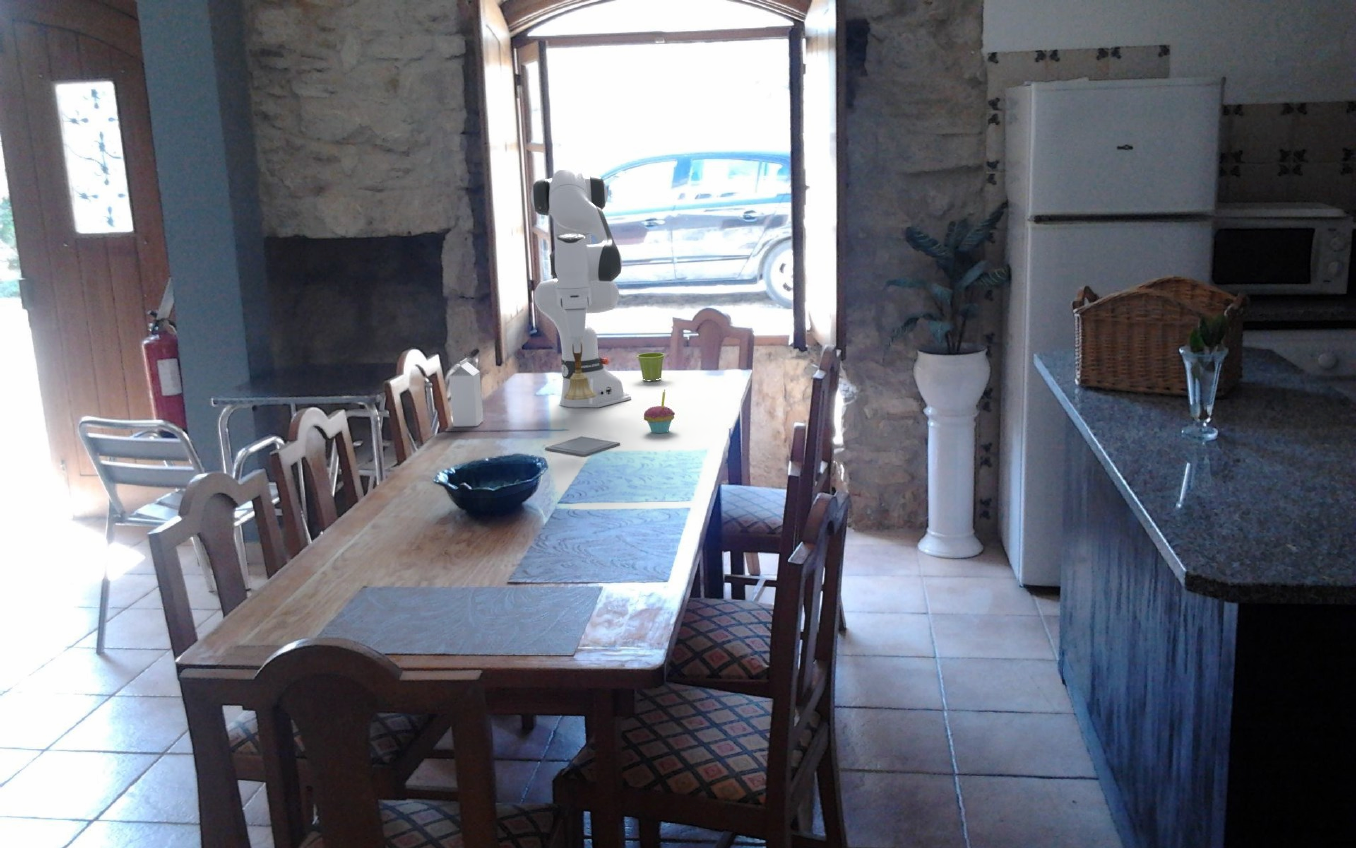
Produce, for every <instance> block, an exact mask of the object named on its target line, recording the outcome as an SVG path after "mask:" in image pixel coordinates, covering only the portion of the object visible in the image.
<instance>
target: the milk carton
mask: <svg viewBox="0 0 1356 848" xmlns="http://www.w3.org/2000/svg"><path fill="white" fill-rule="evenodd" d="M452 370H453V372H452V373H451V374H450V375H449V377H448V378H449V379H448V380H449V389H450V390H449V391H450V400H451V401H450V402H451V413H452V414H451V415H452V416H451V417H452V425H453V427H477V426H479V425H480V424H481V423H483V422H484V414H483V411H484V410H483V397H482V388H481V387H482V386H481V374H480V370H478V369H477V368H476V367H475V366H474V365H473V364H471V363H470V362H468V358H467V357H466V358H464V359H463V360H460V361H459V363H457V364H455V365H454V366H453V367H452Z"/></svg>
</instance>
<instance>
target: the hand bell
mask: <svg viewBox="0 0 1356 848" xmlns="http://www.w3.org/2000/svg"><path fill="white" fill-rule="evenodd" d="M572 350H573V356H574V359H575V374H574V375H573V376H571V377H570V386H569V390H568V392H567V393H566V394H565V396H564V398H565V399H569V400H583V399H589V398H593V397H595V396H596V394H595V393H594V392H593V391H592V390H591V388H590V386H589V383H588V379H587V376H586V375H584V374H582V371H581V370H582V368H581V357H582V343H581V352H580V353H574V346H573V345H572Z"/></svg>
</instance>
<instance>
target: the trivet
mask: <svg viewBox="0 0 1356 848" xmlns="http://www.w3.org/2000/svg"><path fill="white" fill-rule="evenodd" d="M618 446H621V443H620V442H617V441H611V440H606V439H605V440H604V439H601V438H600V439H599V438H593V437H587V436H578V437H574V438H572V439H569V440H566V441H561V442H558V443H556V444H552V445H549V446H546V447H544V450H545V451H550V452H556V453H561V454H565V455H566V454H567V455H573V456H579V457H584V458H585V457H587V456H588V457H589V456H590V455H594V454H596V453H600V452H602V451H605V450H609V449H613V448H615V447H618Z"/></svg>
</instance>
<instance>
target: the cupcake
mask: <svg viewBox="0 0 1356 848" xmlns="http://www.w3.org/2000/svg"><path fill="white" fill-rule="evenodd" d="M665 391H666V389H664V390H663V391H662V396H661V397H662V398H661V405H657V406H652V407H648V409H647V410H645V411H644V413H643V421H645V422H647V423H648V426H649V429H650V431H651V433H653V434H665V432H666V433H668V432H669V429H670V427H671V423H672V420H674V419H675V415H676V413H675V412H674V411H673V409H671V408H670V407H668V406H666V405H665V400H666V399H665V396H666V392H665ZM667 431H668V432H667Z"/></svg>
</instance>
